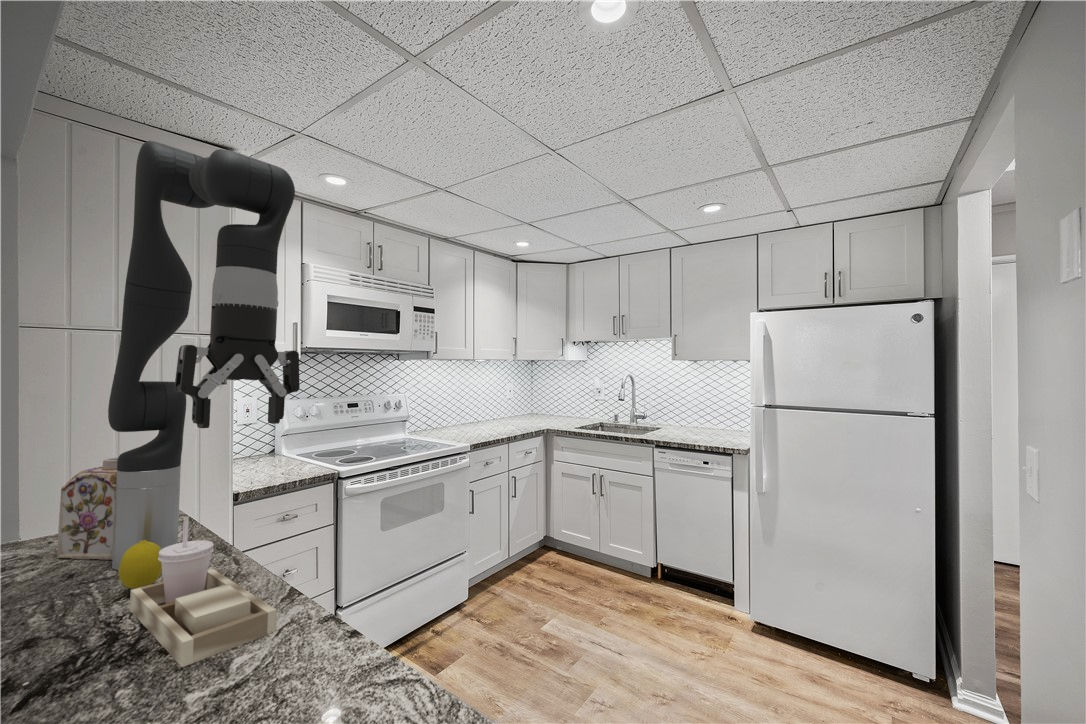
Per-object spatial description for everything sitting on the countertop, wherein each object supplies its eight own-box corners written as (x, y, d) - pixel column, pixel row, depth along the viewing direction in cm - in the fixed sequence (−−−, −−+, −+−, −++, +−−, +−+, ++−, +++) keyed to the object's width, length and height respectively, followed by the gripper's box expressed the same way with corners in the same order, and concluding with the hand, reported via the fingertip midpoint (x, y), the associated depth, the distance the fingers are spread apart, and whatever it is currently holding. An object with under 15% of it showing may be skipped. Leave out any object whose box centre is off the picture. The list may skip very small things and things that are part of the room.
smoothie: (144, 629, 64) (149, 524, 65) (171, 607, 71) (175, 511, 71) (197, 625, 66) (201, 522, 66) (219, 604, 72) (223, 509, 72)
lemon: (110, 601, 72) (113, 547, 73) (126, 587, 77) (129, 536, 78) (155, 595, 74) (158, 543, 75) (168, 582, 80) (170, 533, 80)
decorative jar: (167, 540, 100) (171, 454, 101) (115, 561, 88) (120, 463, 89) (112, 539, 101) (116, 453, 101) (53, 559, 89) (58, 462, 90)
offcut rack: (129, 619, 67) (130, 589, 67) (211, 594, 75) (212, 568, 75) (181, 679, 54) (183, 642, 54) (275, 641, 62) (276, 609, 62)
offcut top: (174, 614, 62) (175, 598, 62) (227, 598, 67) (228, 583, 67) (194, 634, 57) (194, 617, 57) (249, 616, 62) (250, 600, 62)
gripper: (286, 313, 73) (282, 420, 72) (172, 299, 61) (165, 426, 61) (311, 310, 68) (306, 424, 68) (192, 295, 57) (185, 432, 56)
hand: (240, 425), depth 64 cm, fingers open, 8 cm apart
